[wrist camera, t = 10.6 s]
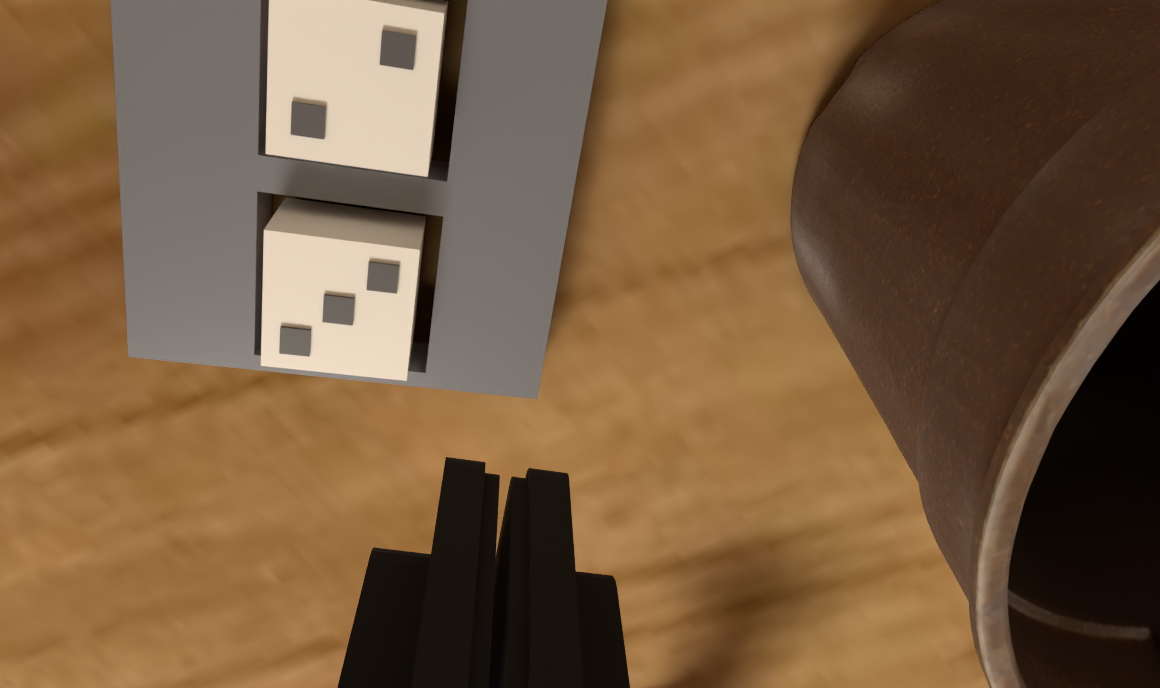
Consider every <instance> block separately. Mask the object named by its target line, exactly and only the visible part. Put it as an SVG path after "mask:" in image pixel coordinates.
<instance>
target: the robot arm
mask: <svg viewBox="0 0 1160 688" xmlns="http://www.w3.org/2000/svg"><path fill="white" fill-rule="evenodd" d="M499 480H500V476H499V475H496V474H488V473H485V462H479V461H471V460H464V459H456V458H448V457H446V460H445V467H444V473H443V480H442V486H441V493H440V499H439V506H438V513H437V519H436V526H435V532H434V539H433V545H432V552H431V554H423V553H415V552H406V551H398V550H389V549H381V548H373V549H372V551H371V555H370V558H369V562H368V566H367V570H366V574H365V578H364V582H363V586H362V591H361V595H360V599H359V603H358V607H357V611H356V615H355V619H354V623H353V627H352V631H351V635H350V639H349V643H348V647H347V651H346V655H345V659H344V663H343V667H342V672H341V676H340V680H339V684H338V688H630V684H629V677H628V669H627V662H626V654H625V646H624V639H623V631H622V623H621V616H620V608H619V600H618V593H617V586H616V582H615V579H614V577H613V576H610V575H601V574H593V573H584V572H576V571H575V557H574V543H573V529H572V515H571V501H570V487H569V476H568V474H567V473H562V472H554V471H547V470H539V469H532V468H529V469H528V471H527V474H526V478H518V477H512V478H511V481H510V485H509V490H508V496H507V501H506V506H505V511H504V517H503V522H502V527H501V532H500V537H499V543H498V548H497V553H496V538H497V518H498V499H499ZM495 557H496V558H495Z"/></svg>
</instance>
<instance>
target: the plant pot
mask: <svg viewBox="0 0 1160 688" xmlns="http://www.w3.org/2000/svg"><path fill="white" fill-rule="evenodd" d="M791 232H792V242H793V248H794V252H795V256H796V260H797V264H798V267H799V270H800V273H801V276H802V278H803V281H804V283H805V286H806V288H807V290H808V292H809V293H810V295H811V297H812V299H813V301H814V302H815V304H816V305H817V307H818V308H819V310H820V311H821V313H822V315H823V316H824V318H825V320H826V321H827V323H828V325H829V327H830V328H831V330H832V332H833V334H834V335H835V337H836V339H837V340H838V342H839V344H840V346H841V347H842V349H843V351H844V352H845V354H846V356H847V358H848V359H849V361H850V363H851V365H852V366H853V368H854V370H855V372H856V373H857V375H858V377H859V379H860V380H861V382H862V384H863V386H864V387H865V389H866V391H867V393H868V394H869V396H870V398H871V399H872V401H873V403H874V405H875V406H876V408H877V410H878V412H879V413H880V415H881V417H882V419H883V420H884V422H885V424H886V425H887V427H888V429H889V431H890V433H891V435H892V436H893V438H894V440H895V442H896V444H897V446H898V447H899V449H900V451H901V453H902V455H903V456H904V458H905V460H906V461H907V463H908V465H909V467H910V468H911V470H912V472H913V474H914V475H915V477H916V479H917V481H918V482H919V489H920V495H921V500H922V505H923V508H924V511H925V514H926V518H927V521H928V524H929V526H930V528H931V531H932V533H933V535H934V537H935V540H936V542H937V544H938V546H939V548H940V550H941V552H942V554H943V555H944V557H945V559H946V561H947V563H948V564H949V566H950V568H951V570H952V572H953V574H954V575H955V577H956V579H957V581H958V583H959V584H960V586H961V588H962V590H963V592H964V594H965V595H966V597H967V599H968V601H969V613H970V623H971V629H972V634H973V639H974V644H975V648H976V652H977V655H978V658H979V661H980V664H981V667H982V670H983V672H984V674H985V677H986V679H987V682H988V684H989V687H990V688H1160V0H944V1H941V2H939V3H937V4H934V5H932V6H930V7H928V8H926V9H924V10H922V11H920V12H919V13H917V14H915V15H914V16H912V17H911V18H909V19H907V20H906V21H904V22H903V23H901V24H899V25H898V26H897V27H895V28H894V29H892V30H891V31H890V32H888V33H887V34H885V35H884V36H883V37H881V38H880V39H879V40H878V41H877V42H876V43H874V44H873V45H872V46H871V47H870V48H869V49H867V50H866V51H865V52H864V54H863V55H862V56H861V57H860V58H859V59H858V60H857V61H856V63H855V66H854V67H853V69H852V71H851V73H850V75H849V77H848V78H847V79H846V81H845V82H844V83H843V85H842V86H841V87H840V89H839V90H838V91H837V93H836V94H835V95H834V97H833V98H832V99H831V101H830V102H829V103H828V105H827V106H826V108H825V109H824V110H823V112H822V113H821V114H820V115H819V116H818V117H817V118H816V120H815V121H814V122H813V124H812V126H811V128H810V130H809V132H808V135H807V137H806V140H805V142H804V145H803V148H802V150H801V153H800V157H799V160H798V164H797V167H796V171H795V176H794V182H793V189H792V201H791Z"/></svg>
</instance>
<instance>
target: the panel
mask: <svg viewBox="0 0 1160 688" xmlns="http://www.w3.org/2000/svg"><path fill="white" fill-rule="evenodd" d="M606 6H607V0H468V2H467V11H466V20H465V29H464V38H463V46H462V55H461V64H460V73H459V82H458V91H457V100H456V109H455V117H454V126H453V135H452V144H451V153H450V162H449V163H448V162H441V161H434V160H431V163H430V168H429V173H428V177H425V176H418V175H411V174H404V173H396V172H389V171H382V170H375V169H368V168H361V167H354V166H347V165H340V164H333V163H326V162H319V161H312V160H305V159H298V158H291V157H284V156H276V155H269V154H266V111H267V66H268V21H269V0H111V18H112V38H113V58H114V78H115V98H116V118H117V138H118V158H119V178H120V198H121V218H122V238H123V258H124V278H125V298H126V318H127V338H128V357H134V358H144V359H154V360H164V361H173V362H183V363H193V364H202V365H212V366H222V367H232V368H241V369H251V370H261V371H270V372H280V373H290V374H300V375H309V376H319V377H329V378H338V379H348V380H358V381H368V382H377V383H387V384H397V385H406V386H416V387H426V388H435V389H445V390H455V391H465V392H474V393H484V394H494V395H503V396H513V397H523V398H533V399H537V397H538V392H539V386H540V380H541V374H542V369H543V363H544V357H545V352H546V346H547V340H548V335H549V329H550V323H551V318H552V312H553V306H554V301H555V295H556V289H557V284H558V278H559V272H560V267H561V261H562V255H563V250H564V244H565V238H566V233H567V227H568V221H569V216H570V210H571V204H572V199H573V193H574V187H575V182H576V176H577V170H578V165H579V159H580V153H581V148H582V142H583V136H584V131H585V125H586V119H587V114H588V108H589V102H590V97H591V91H592V85H593V80H594V74H595V68H596V63H597V57H598V51H599V46H600V40H601V34H602V29H603V23H604V17H605V12H606ZM272 194H280V195H287V196H295V197H302V198H310V199H317V200H324V201H332V202H339V203H347V204H354V205H362V206H369V207H376V208H384V209H391V210H399V211H406V212H413V213H421V214H428V215H436V216H443V224H442V233H441V242H440V251H439V259H438V268H437V277H436V286H435V295H434V304H433V313H432V322H431V330H430V339H429V344H427V343H418V342H413V344H412V351H411V357H410V363H409V370H408V376H407V381H402V380H392V379H383V378H373V377H364V376H354V375H344V374H335V373H325V372H315V371H306V370H296V369H287V368H277V367H267V366H261V334H262V289H263V244H264V229H265V227H266V226H267V224H268V223H269V221H270V220H271V218H272Z"/></svg>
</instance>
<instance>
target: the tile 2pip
mask: <svg viewBox="0 0 1160 688" xmlns="http://www.w3.org/2000/svg"><path fill="white" fill-rule="evenodd" d="M447 11H448V1H443V0H269V21H268V66H267V111H266V154H269V155H276V156H284V157H291V158H298V159H305V160H312V161H319V162H326V163H333V164H340V165H347V166H354V167H361V168H368V169H375V170H382V171H389V172H396V173H404V174H411V175H418V176H425V177H428V173H429V168H430V163H431V158H432V153H433V146H434V136H435V126H436V117H437V107H438V97H439V88H440V78H441V69H442V59H443V49H444V40H445V30H446V21H447Z"/></svg>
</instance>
